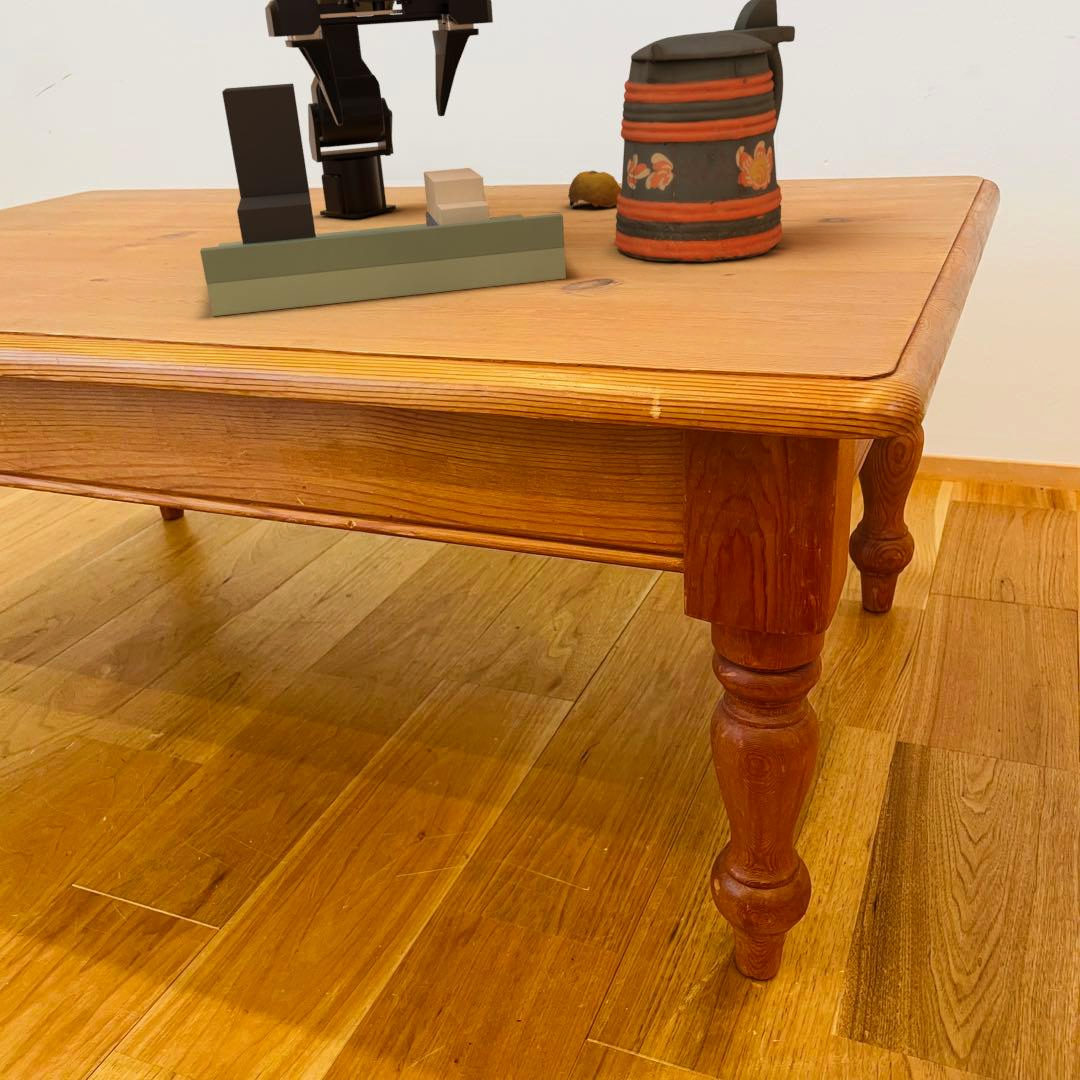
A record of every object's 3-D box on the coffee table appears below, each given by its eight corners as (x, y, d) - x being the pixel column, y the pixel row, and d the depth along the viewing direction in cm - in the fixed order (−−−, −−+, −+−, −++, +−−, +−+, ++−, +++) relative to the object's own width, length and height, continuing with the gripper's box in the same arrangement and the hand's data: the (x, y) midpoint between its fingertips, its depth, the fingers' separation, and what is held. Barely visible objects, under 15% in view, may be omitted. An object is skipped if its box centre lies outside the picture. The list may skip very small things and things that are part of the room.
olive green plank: (224, 271, 99) (213, 215, 96) (522, 241, 103) (519, 186, 101) (212, 316, 83) (199, 250, 80) (566, 278, 87) (563, 215, 85)
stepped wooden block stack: (427, 228, 98) (421, 171, 96) (475, 223, 99) (470, 166, 97) (441, 247, 89) (435, 185, 87) (494, 242, 90) (489, 180, 88)
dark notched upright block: (253, 249, 94) (225, 88, 88) (316, 243, 95) (293, 83, 89) (248, 277, 83) (216, 95, 77) (320, 269, 84) (294, 89, 78)
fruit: (653, 200, 120) (653, 166, 119) (607, 212, 115) (606, 176, 113) (596, 196, 126) (595, 163, 124) (549, 208, 120) (547, 173, 119)
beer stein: (698, 219, 108) (699, -3, 99) (833, 229, 99) (848, -14, 91) (582, 255, 95) (572, 3, 87) (726, 269, 87) (731, -9, 78)
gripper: (454, -78, 98) (469, 106, 105) (247, -69, 94) (276, 122, 101) (487, -89, 89) (500, 114, 96) (257, -80, 84) (289, 132, 91)
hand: (391, 120), depth 96 cm, fingers open, 9 cm apart
